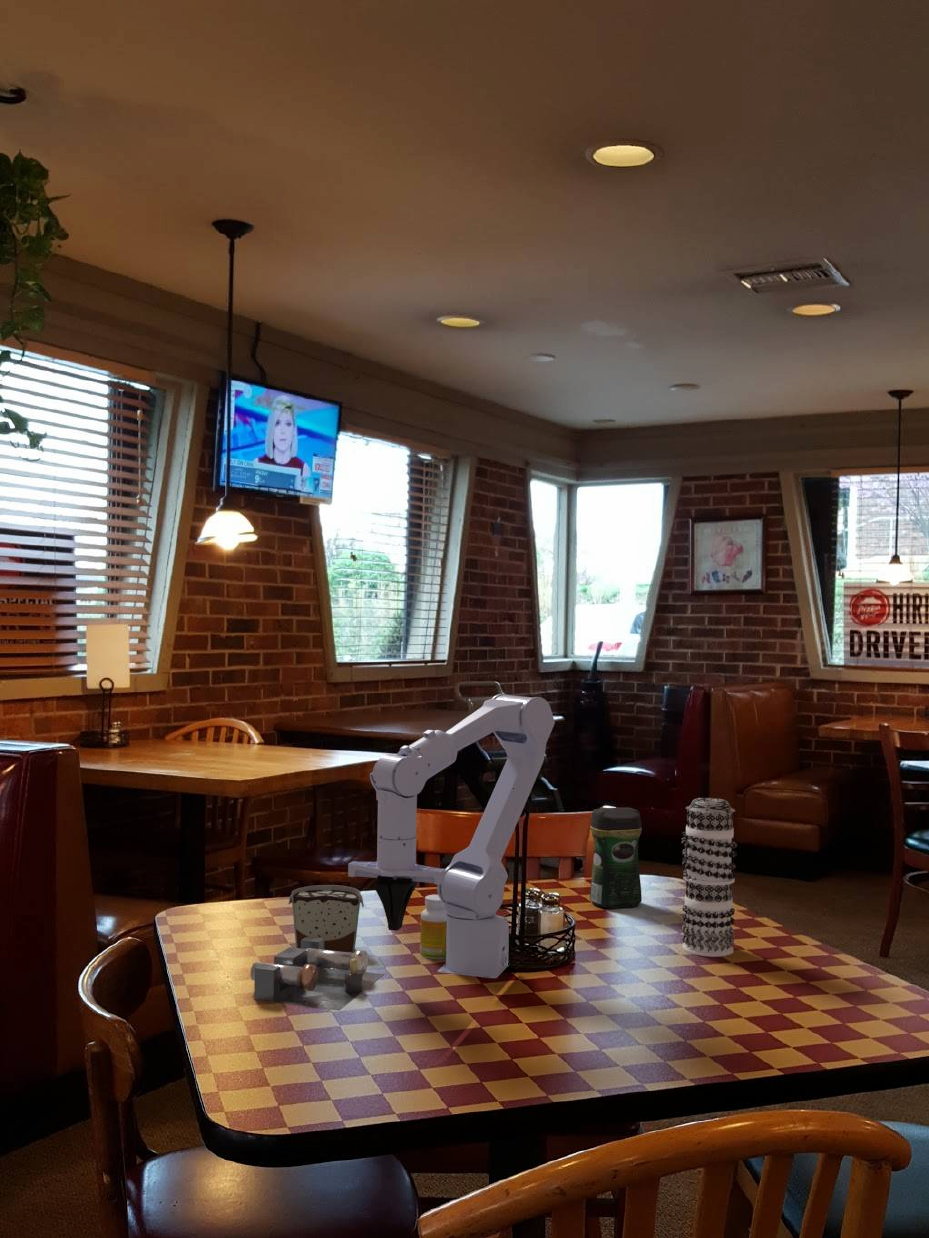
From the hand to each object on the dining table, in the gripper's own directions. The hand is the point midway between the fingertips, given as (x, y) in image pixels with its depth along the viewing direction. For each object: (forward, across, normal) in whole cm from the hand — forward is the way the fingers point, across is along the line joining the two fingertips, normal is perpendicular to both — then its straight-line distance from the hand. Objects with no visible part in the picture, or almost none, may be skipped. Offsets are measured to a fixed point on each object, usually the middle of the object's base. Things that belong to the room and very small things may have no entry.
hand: (395, 928), depth 172 cm
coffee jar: (+9, +22, +62) cm, 66 cm away
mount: (+9, -10, -5) cm, 14 cm away
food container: (+9, -17, +15) cm, 25 cm away
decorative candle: (+9, +42, +37) cm, 57 cm away
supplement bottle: (+9, +1, +17) cm, 19 cm away
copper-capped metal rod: (+7, -14, -9) cm, 18 cm away
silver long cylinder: (+7, -10, 0) cm, 12 cm away
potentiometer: (+8, -5, -4) cm, 10 cm away
